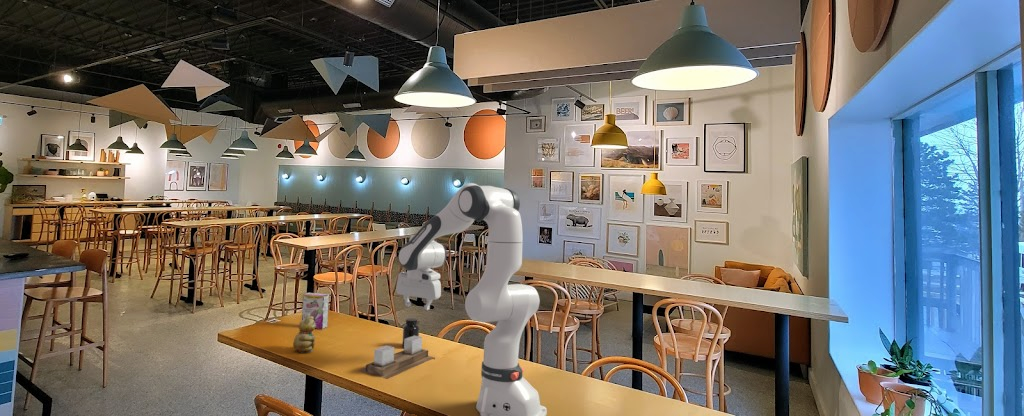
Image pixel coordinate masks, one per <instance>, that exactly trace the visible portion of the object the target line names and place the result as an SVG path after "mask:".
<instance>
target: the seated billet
mask: <svg viewBox="0 0 1024 416" xmlns="http://www.w3.org/2000/svg"><path fill="white" fill-rule="evenodd" d="M373 350H374V351H373V352H374V353H373V357H374V358H373V362H374V366H377V367H381V368H383V367H385V366H388V365H390V364H393V363H394V354H395V347H394V346H391V345H383V346H380V347H378V348H375V349H373Z"/></svg>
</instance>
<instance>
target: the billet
mask: <svg viewBox="0 0 1024 416" xmlns="http://www.w3.org/2000/svg"><path fill="white" fill-rule="evenodd" d="M422 345H423V336H415V335H414V336H411V337H409V338H406V339H404V347H403V350H404V354H407V355H411V356H412V355H415V354H417V353H419V352H422V349H423V346H422Z"/></svg>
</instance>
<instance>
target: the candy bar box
mask: <svg viewBox="0 0 1024 416" xmlns="http://www.w3.org/2000/svg"><path fill="white" fill-rule="evenodd" d="M329 299H330V294H327V293H326V294H325V293H316V292H305V293H303V294H302V306H301V307H302V310H301V311H302V314H301V321H302V320H304V319H305V317H306V315H308V314H310V316H313V317H314V319H313V320H314V322H315V323H316V328H319V329H318V330H324V329H326V328H328V322H329V321H328V320H329V303H330V301H329ZM325 327H326V328H325ZM323 328H324V329H323Z"/></svg>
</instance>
